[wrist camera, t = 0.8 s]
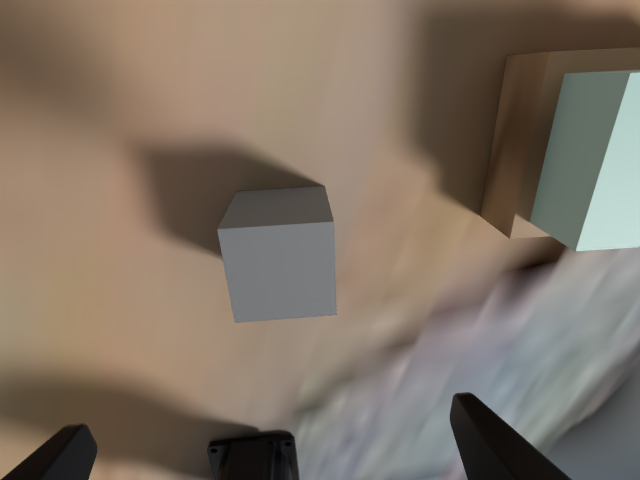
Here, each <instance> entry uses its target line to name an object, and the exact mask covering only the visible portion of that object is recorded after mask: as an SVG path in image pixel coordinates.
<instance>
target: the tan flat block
mask: <svg viewBox="0 0 640 480" xmlns="http://www.w3.org/2000/svg"><path fill="white" fill-rule="evenodd" d="M623 70H640V47H632V48H612V49H591V50H570V51H549V52H539V53H529V54H518V55H508V56H507V58H506V64H505V70H504V76H503V82H502V88H501V94H500V100H499V106H498V112H497V118H496V124H495V130H494V136H493V142H492V148H491V154H490V160H489V166H488V172H487V178H486V184H485V190H484V196H483V202H482V208H481V214H480V216H481V217H482V218H483V219H485V220H486V221H487V222H488V223H490V224H491V225H492V226H494V227H495V228H496V229H498V230H499V231H500V232H502V233H503V234H504V235H506V236H507V237H508V238H509V239H515V238H529V237H544V236H550V235H549V234H547V233H545V232H544V231H542V230H541V229H539V228H537V227H536V226H534V225H533V224H531V223H530V219H531V214H532V210H533V206H534V202H535V197H536V193H537V189H538V184H539V180H540V176H541V172H542V167H543V163H544V159H545V155H546V150H547V146H548V142H549V138H550V133H551V129H552V125H553V121H554V116H555V112H556V108H557V103H558V99H559V95H560V91H561V86H562V82H563V78H564V74H565V73H584V72H603V71H623Z"/></svg>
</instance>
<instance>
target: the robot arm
mask: <svg viewBox="0 0 640 480" xmlns="http://www.w3.org/2000/svg"><path fill="white" fill-rule="evenodd" d="M450 423H451V427H452V430H453V433H454V437H455V440H456V443H457V446H458V449H459V453H460V456H461V459H462V462H463V465H464V469H465V472H466V475H467V478H468V480H572V479H571V478H569V477H568V476H567V475H566V474H565V473H564V472H562V471H561V470H560V469H559V468H558V467H557V466H556V465H554V464H553V463H552V462H551V461H550V460H549V459H547V458H546V457H545V456H544V455H543V454H542V453H541V452H539V451H538V450H537V449H536V448H535V447H534V446H532V445H531V444H530V443H529V442H528V441H527V440H526V439H524V438H523V437H522V436H521V435H520V434H519V433H517V432H516V431H515V430H514V429H513V428H512V427H511V426H509V425H508V424H507V423H506V422H505V421H504V420H502V419H501V418H500V417H499V416H498V415H497V414H496V413H494V412H493V411H492V410H491V409H490V408H489V407H487V406H486V405H485V404H484V403H483V402H482V401H481V400H479V399H478V398H477V397H476V396H475V395H474V394H472V393H469V392H466V393H456V394H455V395H454V396H453V400H452V406H451V411H450ZM207 452H208V455H209V459H210V462H211V466H212V469H213V473H214V476H215V480H300V479H299V470H298V461H297V453H296V444H295V438H294V436H292V435H279V436H268V437H256V438H245V439H234V440H222V441H213V442H210V443H209V445H208V449H207ZM96 454H97V444H96V442H95V440H94V438H93V435H92V433H91V431H90V429H89V427H88V426H87V425H86V424H84V423H81V424H70V425H67V426H65V427H63V428H62V429H61V430H59V431H58V432H57V433H56V434H55V435H53V436H52V437H51V438H50V439H49V440H47V441H46V442H45V443H44V444H43V445H42V446H40V447H39V448H38V449H37V450H36V451H34V452H33V453H32V454H31V455H30V456H28V457H27V458H26V459H25V460H24V461H22V462H21V463H20V464H19V465H18V466H16V467H15V468H14V469H13V470H12V471H10V472H9V473H8V474H7V475H6V476H5V477H3V478H2V479H1V480H88V479H89V476H90V473H91V470H92V467H93V464H94V461H95V458H96Z"/></svg>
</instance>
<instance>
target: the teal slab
mask: <svg viewBox="0 0 640 480" xmlns="http://www.w3.org/2000/svg"><path fill="white" fill-rule="evenodd" d="M530 223H531V224H533V225H534V226H536V227H537V228H539V229H541V230H542V231H544V232H545V233H547V234H549V235H550V236H552V237H553V238H555V239H557V240H558V241H560V242H561V243H563V244H565V245H566V246H568V247H569V248H571V249H573V250H574V251H588V250H602V249H616V248H630V247H640V70H623V71H603V72H584V73H565V74H564V78H563V82H562V86H561V91H560V95H559V99H558V103H557V108H556V112H555V116H554V121H553V125H552V129H551V133H550V138H549V142H548V146H547V150H546V155H545V159H544V163H543V167H542V172H541V176H540V180H539V184H538V189H537V193H536V197H535V202H534V206H533V210H532V214H531V219H530Z"/></svg>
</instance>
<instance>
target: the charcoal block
mask: <svg viewBox="0 0 640 480" xmlns="http://www.w3.org/2000/svg"><path fill="white" fill-rule="evenodd" d="M217 231H218V237H219V242H220V247H221V252H222V258H223V263H224V268H225V273H226V279H227V284H228V289H229V294H230V300H231V305H232V310H233V316H234V321H235V323H238V322H251V321H264V320H277V319H291V318H304V317H317V316H331V315H337V313H336V280H335V247H334V221H333V217H332V213H331V209H330V205H329V201H328V197H327V193H326V189H325V186H314V187H298V188H282V189H266V190H250V191H237V192H236V194H235V196H234V198H233V199H232V201H231V203H230V205H229V207H228V209H227V211H226V213H225V215H224V217H223V219H222V221H221V223H220V225H219V227H218V229H217Z"/></svg>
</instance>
